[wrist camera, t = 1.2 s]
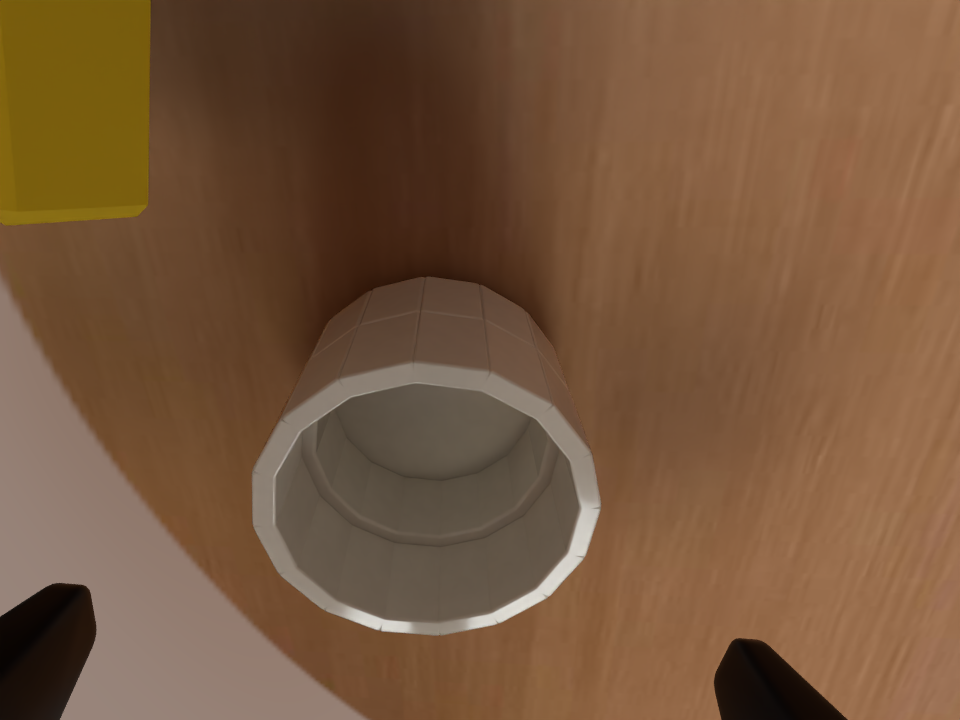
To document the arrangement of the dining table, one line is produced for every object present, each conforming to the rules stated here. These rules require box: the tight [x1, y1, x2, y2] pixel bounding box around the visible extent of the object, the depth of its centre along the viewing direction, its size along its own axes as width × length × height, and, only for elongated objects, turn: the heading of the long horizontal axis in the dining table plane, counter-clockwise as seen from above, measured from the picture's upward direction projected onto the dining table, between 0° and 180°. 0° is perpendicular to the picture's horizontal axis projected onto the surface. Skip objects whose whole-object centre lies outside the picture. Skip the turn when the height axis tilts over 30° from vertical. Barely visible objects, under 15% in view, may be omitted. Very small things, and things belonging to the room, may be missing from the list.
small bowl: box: [252, 277, 601, 636], centre depth 12 cm, size 6×6×5 cm
